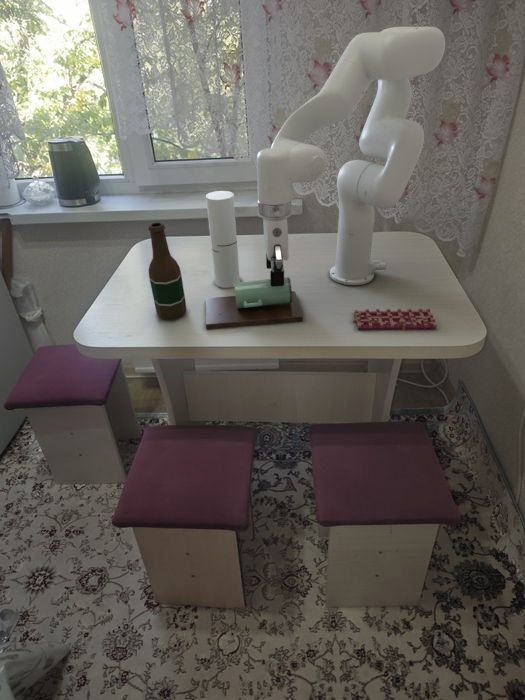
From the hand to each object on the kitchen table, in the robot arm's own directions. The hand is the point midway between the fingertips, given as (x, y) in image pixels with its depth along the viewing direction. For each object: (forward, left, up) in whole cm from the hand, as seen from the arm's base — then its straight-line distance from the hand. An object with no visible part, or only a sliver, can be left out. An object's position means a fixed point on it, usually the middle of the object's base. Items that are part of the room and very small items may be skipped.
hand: (274, 276), depth 113 cm
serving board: (+6, 0, -10) cm, 11 cm away
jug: (+10, +1, -5) cm, 11 cm away
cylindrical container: (+12, -17, -10) cm, 23 cm away
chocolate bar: (-28, +10, -10) cm, 31 cm away
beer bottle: (+27, -2, -10) cm, 29 cm away
